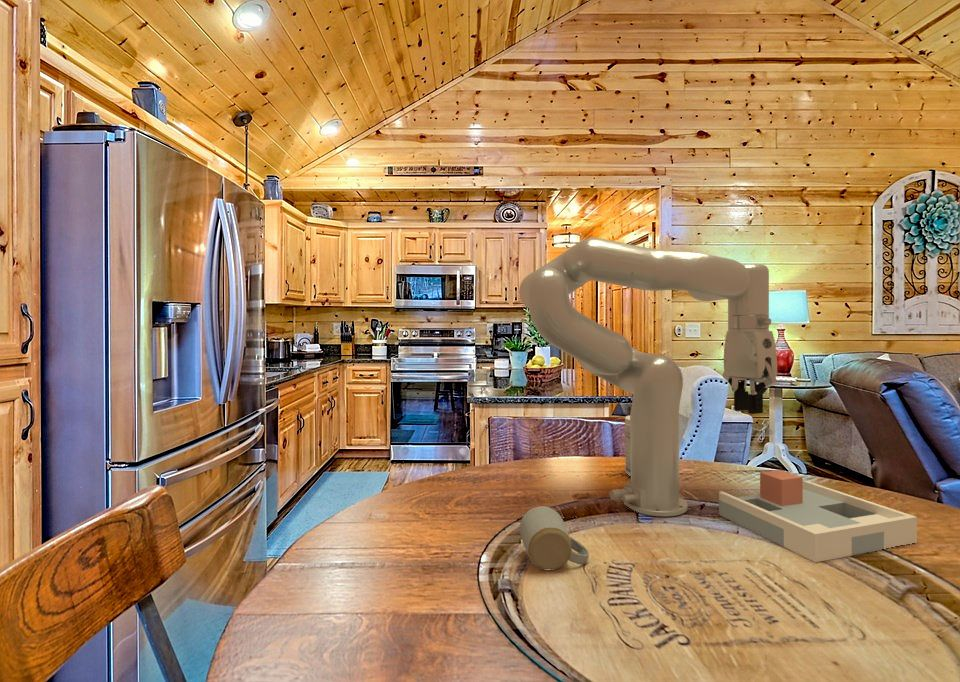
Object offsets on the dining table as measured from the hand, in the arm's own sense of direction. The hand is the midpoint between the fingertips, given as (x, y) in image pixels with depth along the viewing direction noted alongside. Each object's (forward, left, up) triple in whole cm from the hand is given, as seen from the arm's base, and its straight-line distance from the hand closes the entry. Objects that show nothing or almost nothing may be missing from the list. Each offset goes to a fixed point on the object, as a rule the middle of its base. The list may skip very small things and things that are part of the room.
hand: (748, 411), depth 103 cm
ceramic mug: (-49, -11, -20) cm, 54 cm away
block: (0, -8, -16) cm, 18 cm away
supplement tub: (-10, +22, -19) cm, 31 cm away
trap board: (0, -14, -19) cm, 24 cm away
